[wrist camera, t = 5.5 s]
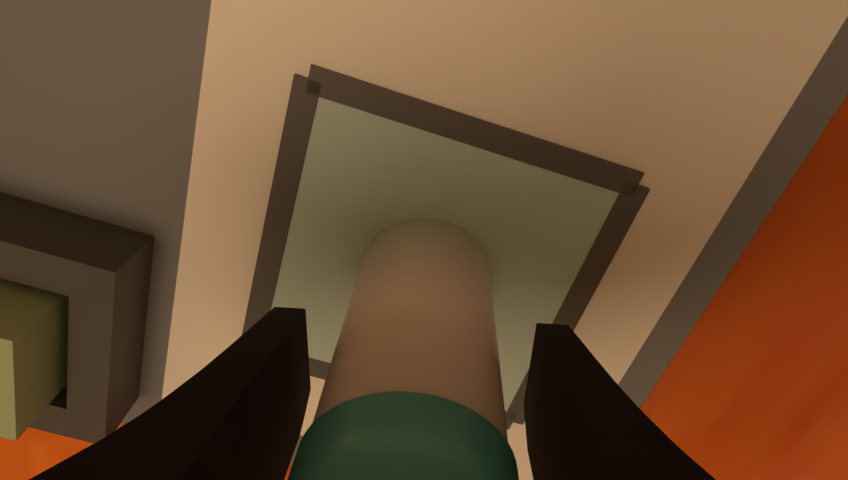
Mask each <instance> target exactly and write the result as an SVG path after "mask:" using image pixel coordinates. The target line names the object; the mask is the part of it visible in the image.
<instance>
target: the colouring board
mask: <svg viewBox="0 0 848 480" xmlns="http://www.w3.org/2000/svg"><path fill="white" fill-rule="evenodd" d="M847 95H848V0H0V278H2V279H6V280H10V281H13V282H17V283H21V284H24V285H28V286H32V287H35V288H39V289H43V290H46V291H50V292H54V293H57V294H61V295H65V296H68V297H69V314H68V365H67V385H66V386H65V387H64V388H63V389H62V390H61V391H60V392H59V394H58V395H57V396H56V397H55V398H54V399H53V400H52V401H51V403H50V404H49V405H48V406H47V407H46V408H45V409H44V410H43V411H42V413H41V414H40V415H39V416H38V417H37V418H36V419H35V420H34V422H33V423H32V424H31V425H30V426H29V427H31V428H35V429H39V430H43V431H47V432H51V433H55V434H59V435H63V436H67V437H71V438H75V439H79V440H83V441H87V442H91V443H96V442H98V441H99V440H101V439H103V438H104V437H106V436H108V435H109V434H111V433H112V432H114V431H115V430H116V429H117V427H118V426H119V425H120V423H125V424H127V423H128V422H130V421H131V420H133V419H134V418H136V417H138V416H139V415H140V414H142V413H143V412H145V411H146V410H148V409H149V408H151V407H152V406H154V405H155V404H156V403H158V402H159V401H161V400H162V399H163V398H165V397H166V396H167V395H169V394H170V393H171V392H173V391H174V390H175V389H177V388H178V387H179V386H181V385H182V384H183V383H185V382H186V381H187V380H188V379H190V378H191V377H192V376H194V375H195V374H196V373H198V372H199V371H200V370H201V369H203V368H204V367H205V366H206V365H207V364H209V363H210V362H211V361H212V360H213V359H215V358H216V357H217V356H218V355H219V354H221V353H222V352H223V351H224V350H225V349H227V348H228V347H229V346H230V345H231V344H232V343H234V342H235V341H236V340H237V339H238V338H239V337H240V336H242V335H243V334H244V333H245V332H246V331H247V330H248V329H250V328H251V327H252V326H253V325H254V324H255V323H256V322H258V321H259V320H260V319H261V318H262V317H263V316H265V315H266V314H267V313H268V312H269V311H271V310H272V309H273V308H274V307H285V308H302V309H306V324H307V339H308V354H309V370H310V385H311V391H310V395H309V399H308V404H307V408H306V413H305V417H304V421H303V425H302V429H301V433H300V437H299V440H298V442H297V445H296V448H295V451H294V453H293V456H292V459H291V462H290V464H289V465H290V466H292V465H293V462H294V459H295V456H296V452H297V449H298V447H299V444H300V441H301V439H302V437H303V436H304V434H305V432H306V431H307V429H308V428H309V427H310V426H311V424H312V423H313V420H314V416H315V413H316V410H317V407H318V403H319V400H320V397H321V393H322V390H323V387H324V384H325V380H326V377H327V374H328V371H329V367H330V364H331V361H332V357H333V354H334V351H335V348H336V344H337V341H338V338H339V335H340V331H341V328H342V325H343V321H344V318H345V315H346V312H347V308H348V305H349V302H350V298H351V295H352V292H353V289H354V285H355V282H356V279H357V276H358V272H359V269H360V266H361V262H362V259H363V256H364V253H365V251H366V249H367V247H368V245H369V244H370V243H371V241H372V240H373V239H374V238H375V237H376V236H377V235H378V234H379V233H380V232H381V231H383V230H384V229H385V228H387V227H389V226H390V225H392V224H395V223H397V222H399V221H403V220H406V219H411V218H423V217H427V218H436V219H441V220H445V221H448V222H451V223H453V224H455V225H457V226H459V227H461V228H462V229H464V230H465V231H467V232H468V233H469V234H470V235H472V236H473V237H474V238H475V239H476V241H477V242H478V243H479V244H480V246H481V247H482V249H483V250H484V252H485V255H486V257H487V260H488V263H489V269H490V277H491V287H492V296H493V305H494V315H495V324H496V333H497V343H498V352H499V361H500V371H501V380H502V389H503V399H504V408H505V417H506V427H507V436H508V443H509V445H510V447H511V449H512V451H513V453H514V456H515V459H516V462H517V468H518V475H519V480H533V475H532V471H531V466H530V461H529V456H528V450H527V439H526V428H525V415H524V397H525V391H526V385H527V379H528V373H529V367H530V360H531V354H532V348H533V342H534V336H535V330H536V323H545V324H562V325H569V326H570V328H571V329H572V330H573V331H574V332H575V334H576V335H577V336H578V337H579V338H580V340H581V341H582V342H583V343H584V345H585V346H586V347H587V348H588V350H589V351H590V352H591V353H592V354H593V356H594V357H595V358H596V359H597V361H598V362H599V363H600V364H601V365H602V367H603V368H604V369H605V370H606V371H607V373H608V374H609V375H610V376H611V377H612V378H613V380H614V381H615V382H616V383H617V384H618V385H619V386H620V387H621V389H622V390H623V391H624V392H625V393H626V394H627V395H628V396H629V398H630V399H631V400H632V401H633V402H634V403H635V404H636V405H637V406H638V407H639V408H640V407H641V405H642V404H643V402H644V401H645V399H646V398H647V396H648V395H649V393H650V392H651V390H652V389H653V387H654V386H655V384H656V383H657V381H658V380H659V378H660V377H661V375H662V374H663V372H664V371H665V369H666V368H667V366H668V365H669V363H670V362H671V360H672V359H673V357H674V356H675V354H676V353H677V351H678V350H679V348H680V347H681V345H682V344H683V342H684V341H685V339H686V337H687V336H688V334H689V333H690V331H691V330H692V328H693V327H694V325H695V324H696V322H697V321H698V319H699V318H700V316H701V315H702V313H703V312H704V310H705V309H706V307H707V306H708V304H709V303H710V301H711V300H712V298H713V297H714V295H715V294H716V292H717V291H718V289H719V288H720V286H721V285H722V283H723V282H724V280H725V279H726V277H727V276H728V274H729V273H730V271H731V270H732V268H733V267H734V265H735V264H736V262H737V261H738V259H739V258H740V256H741V255H742V253H743V252H744V250H745V249H746V247H747V246H748V244H749V243H750V241H751V240H752V238H753V237H754V235H755V233H756V232H757V230H758V229H759V227H760V226H761V224H762V223H763V221H764V220H765V218H766V217H767V215H768V214H769V212H770V211H771V209H772V208H773V206H774V205H775V203H776V202H777V200H778V199H779V197H780V196H781V194H782V193H783V191H784V190H785V188H786V187H787V185H788V184H789V182H790V181H791V179H792V178H793V176H794V175H795V173H796V172H797V170H798V169H799V167H800V166H801V164H802V163H803V161H804V160H805V158H806V157H807V155H808V154H809V152H810V151H811V149H812V148H813V146H814V145H815V143H816V142H817V140H818V139H819V137H820V136H821V134H822V133H823V131H824V130H825V128H826V126H827V125H828V123H829V122H830V120H831V119H832V117H833V116H834V114H835V113H836V111H837V110H838V108H839V107H840V105H841V104H842V102H843V101H844V99H845V98H846V96H847Z"/></svg>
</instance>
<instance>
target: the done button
mask: <svg viewBox="0 0 848 480" xmlns="http://www.w3.org/2000/svg"><path fill="white" fill-rule="evenodd" d="M68 314H69V297H68V296H65V295H61V294H57V293H54V292H50V291H46V290H43V289H39V288H35V287H32V286H28V285H24V284H21V283H17V282H13V281H10V280H6V279H2V278H0V437H3V438H7V439H11V440H15V441H17V439H18V438H19V437H20V436H21V435H22V434H23V433H24V432H25V430H26V429H27V428H28V427H29V426H30V425H31V424H32V423H33V422H34V420H35V419H36V418H37V417H38V416H39V415H40V414H41V413H42V411H43V410H44V409H45V408H46V407H47V406H48V405H49V404H50V403H51V401H52V400H53V399H54V398H55V397H56V396H57V395H58V394H59V392H60V391H61V390H62V389H63V388H64V387H65V386H66V385H67V365H68Z"/></svg>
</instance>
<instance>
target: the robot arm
mask: <svg viewBox="0 0 848 480" xmlns="http://www.w3.org/2000/svg"><path fill="white" fill-rule="evenodd" d="M310 391H311V385H310V370H309V354H308V339H307V324H306V309H302V308H285V307H274V308H273V309H272V310H271V311H269V312H268V313H267V314H266V315H265V316H263V317H262V318H261V319H260V320H259V321H258V322H256V323H255V324H254V325H253V326H252V327H251V328H250V329H248V330H247V331H246V332H245V333H244V334H243V335H242V336H240V337H239V338H238V339H237V340H236V341H235V342H234V343H232V344H231V345H230V346H229V347H228V348H227V349H225V350H224V351H223V352H222V353H221V354H219V355H218V356H217V357H216V358H215V359H213V360H212V361H211V362H210V363H209V364H207V365H206V366H205V367H204V368H203V369H201V370H200V371H199V372H198V373H196V374H195V375H194V376H192V377H191V378H190V379H188V380H187V381H186V382H185V383H183V384H182V385H181V386H179V387H178V388H177V389H175V390H174V391H173V392H171V393H170V394H169V395H167V396H166V397H165V398H163V399H162V400H161V401H159V402H158V403H156V404H155V405H154V406H152V407H151V408H149V409H148V410H146V411H145V412H143V413H142V414H140V415H139V416H138V417H136V418H134V419H133V420H131V421H130V422H128V423H127V424H125V425H123V426H122V427H120V428H119V429H117V430H116V431H114V432H112V433H111V434H109V435H108V436H106V437H104V438H103V439H101V440H99V441H98V442H96V443H94V444H93V445H91V446H89V447H87V448H85V449H84V450H82V451H80V452H78V453H76V454H75V455H73V456H71V457H69V458H67V459H66V460H64V461H62V462H60V463H58V464H57V465H55V466H53V467H51V468H50V469H48V470H46V471H44V472H42V473H41V474H39V475H37V476H35V477H33V478H31V479H29V480H284V478H285V475H286V472H287V470H288V467H289V464H290V462H291V459H292V456H293V453H294V451H295V448H296V445H297V442H298V440H299V437H300V433H301V429H302V425H303V421H304V417H305V413H306V408H307V404H308V399H309V395H310ZM524 415H525V428H526V439H527V450H528V456H529V461H530V466H531V471H532V475H533V480H715V479H714V478H713V477H712V476H711V475H710V474H708V473H707V472H706V471H705V470H704V469H703V468H702V467H700V466H699V465H698V464H697V463H696V462H695V461H693V460H692V459H691V458H690V457H689V456H688V455H687V454H685V453H684V452H683V451H682V450H681V449H680V448H679V447H678V446H677V445H676V444H675V443H674V442H672V441H671V440H670V439H669V438H668V437H667V436H666V435H665V434H664V433H663V432H662V431H661V430H660V429H659V428H658V427H657V426H656V425H655V424H654V423H653V422H652V421H651V420H650V419H649V418H648V417H647V416H646V415H645V414H644V413H643V412H642V411H641V410H640V408H639V407H638V406H637V405H636V404H635V403H634V402H633V401H632V400H631V399H630V398H629V396H628V395H627V394H626V393H625V392H624V391H623V390H622V389H621V387H620V386H619V385H618V384H617V383H616V382H615V381H614V380H613V378H612V377H611V376H610V375H609V374H608V373H607V371H606V370H605V369H604V368H603V367H602V365H601V364H600V363H599V362H598V361H597V359H596V358H595V357H594V356H593V354H592V353H591V352H590V351H589V350H588V348H587V347H586V346H585V345H584V343H583V342H582V341H581V340H580V338H579V337H578V336H577V335H576V334H575V332H574V331H573V330H572V329H571V328H570V326H569V325H562V324H545V323H536V330H535V336H534V342H533V348H532V354H531V360H530V367H529V373H528V379H527V385H526V391H525V397H524Z"/></svg>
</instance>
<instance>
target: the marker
mask: <svg viewBox="0 0 848 480" xmlns="http://www.w3.org/2000/svg"><path fill="white" fill-rule="evenodd" d="M288 480H519V475H518V468H517V462H516V459H515V456H514V453H513V451H512V449H511V447H510V445H509V443H508V436H507V427H506V417H505V408H504V399H503V389H502V380H501V371H500V361H499V352H498V343H497V333H496V324H495V315H494V305H493V296H492V287H491V277H490V269H489V263H488V260H487V257H486V255H485V252H484V250H483V249H482V247H481V246H480V244H479V243H478V242H477V241H476V239H475V238H474V237H473V236H472V235H470V234H469V233H468V232H467V231H465V230H464V229H462V228H461V227H459V226H457V225H455V224H453V223H451V222H448V221H445V220H441V219H436V218H427V217H423V218H411V219H406V220H403V221H399V222H397V223H395V224H392V225H390V226H389V227H387V228H385V229H384V230H383V231H381V232H380V233H379V234H378V235H377V236H376V237H375V238H374V239H373V240H372V241H371V243H370V244H369V245H368V247H367V249H366V251H365V253H364V256H363V259H362V262H361V266H360V269H359V272H358V276H357V279H356V282H355V285H354V289H353V292H352V295H351V298H350V302H349V305H348V308H347V312H346V315H345V318H344V321H343V325H342V328H341V331H340V335H339V338H338V341H337V344H336V348H335V351H334V354H333V357H332V361H331V364H330V367H329V371H328V374H327V377H326V380H325V384H324V387H323V390H322V393H321V397H320V400H319V403H318V407H317V410H316V413H315V416H314V420H313V423H312V424H311V426H310V427H309V428H308V429H307V431H306V432H305V434H304V436H303V437H302V439H301V441H300V444H299V447H298V449H297V452H296V456H295V459H294V462H293V465H292V468H291V471H290V474H289V478H288Z"/></svg>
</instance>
